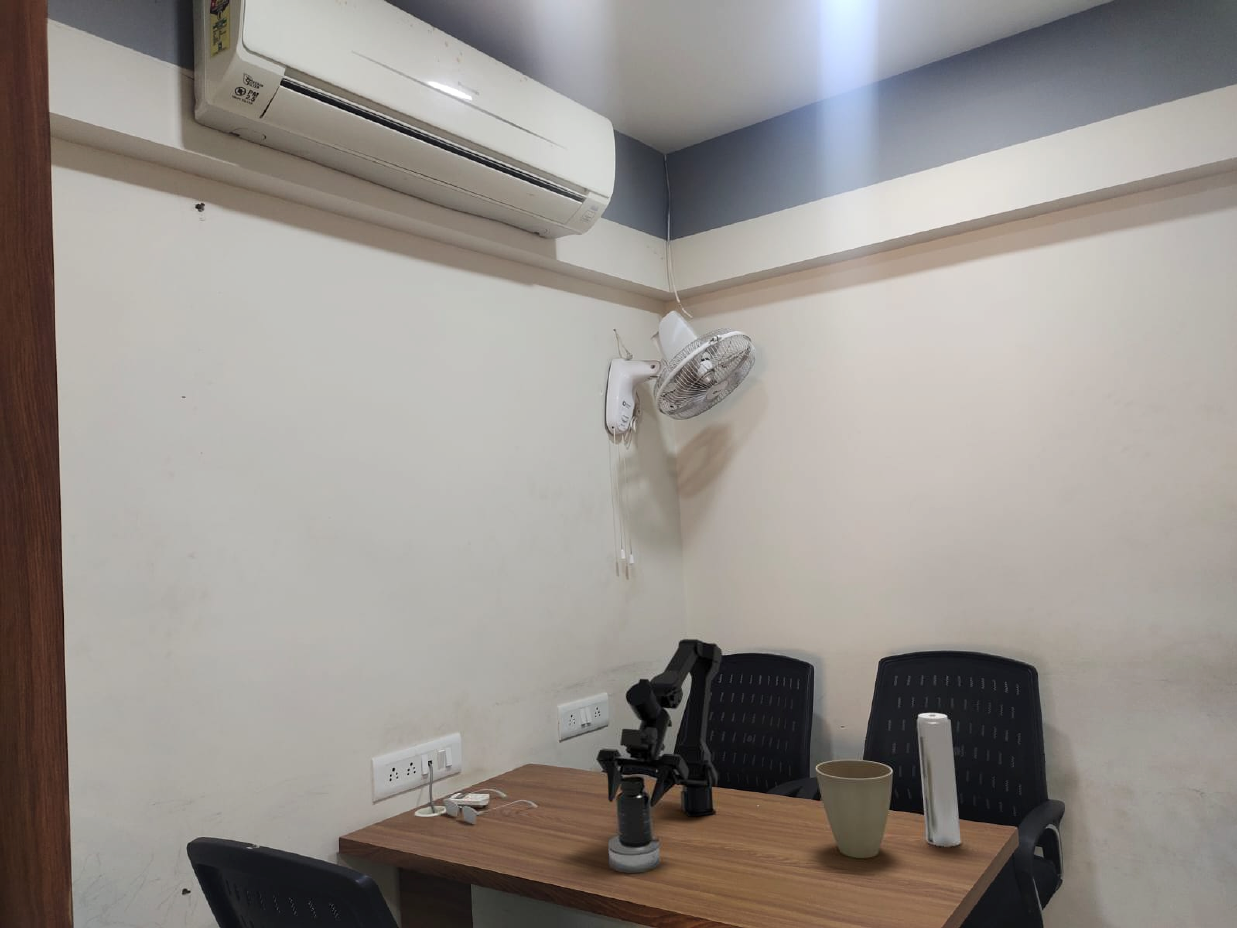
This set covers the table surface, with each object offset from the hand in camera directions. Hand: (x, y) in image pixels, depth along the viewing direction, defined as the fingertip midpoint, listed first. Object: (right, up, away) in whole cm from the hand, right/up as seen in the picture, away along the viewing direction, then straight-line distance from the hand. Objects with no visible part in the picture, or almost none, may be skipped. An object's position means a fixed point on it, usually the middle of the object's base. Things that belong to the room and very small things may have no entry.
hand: (630, 803), depth 164 cm
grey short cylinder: (+1, -11, -1) cm, 12 cm away
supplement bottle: (+1, -8, 0) cm, 8 cm away
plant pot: (+45, -10, 0) cm, 47 cm away
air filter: (+63, -9, +3) cm, 64 cm away
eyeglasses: (-33, -18, +37) cm, 53 cm away
